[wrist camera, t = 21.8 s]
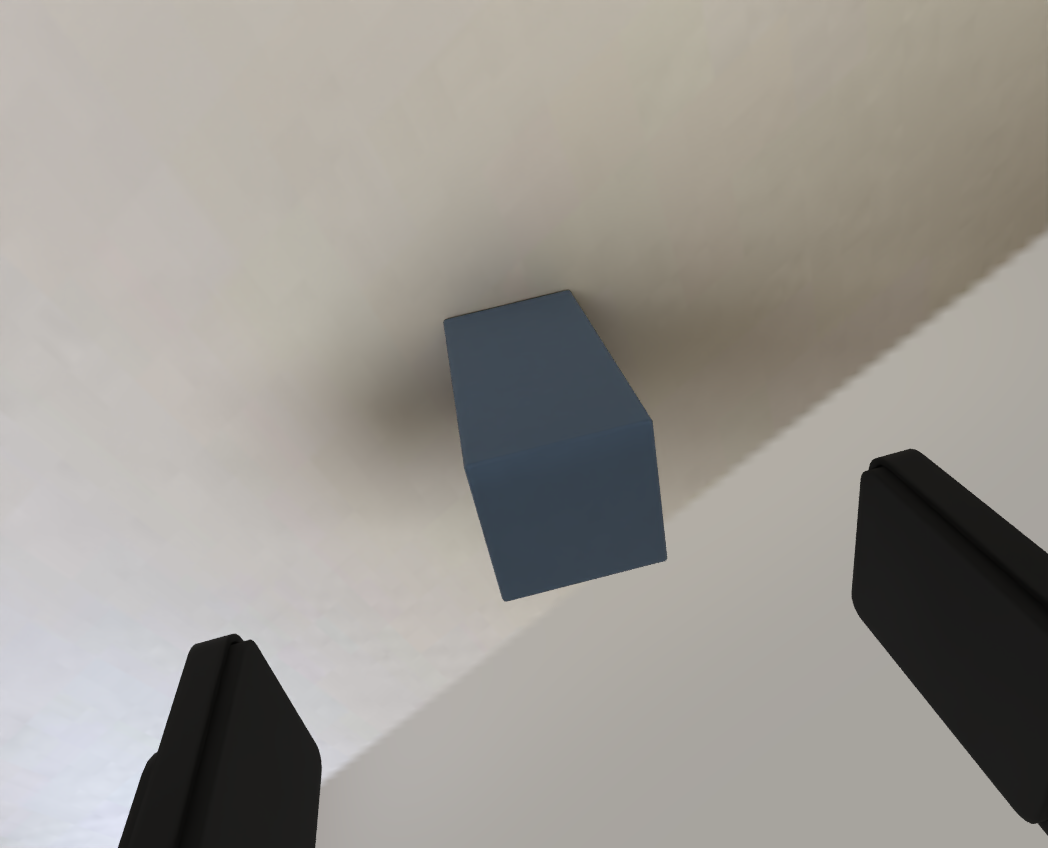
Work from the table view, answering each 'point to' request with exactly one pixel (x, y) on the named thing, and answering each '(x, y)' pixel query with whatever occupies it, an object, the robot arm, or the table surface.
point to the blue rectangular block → (553, 447)
